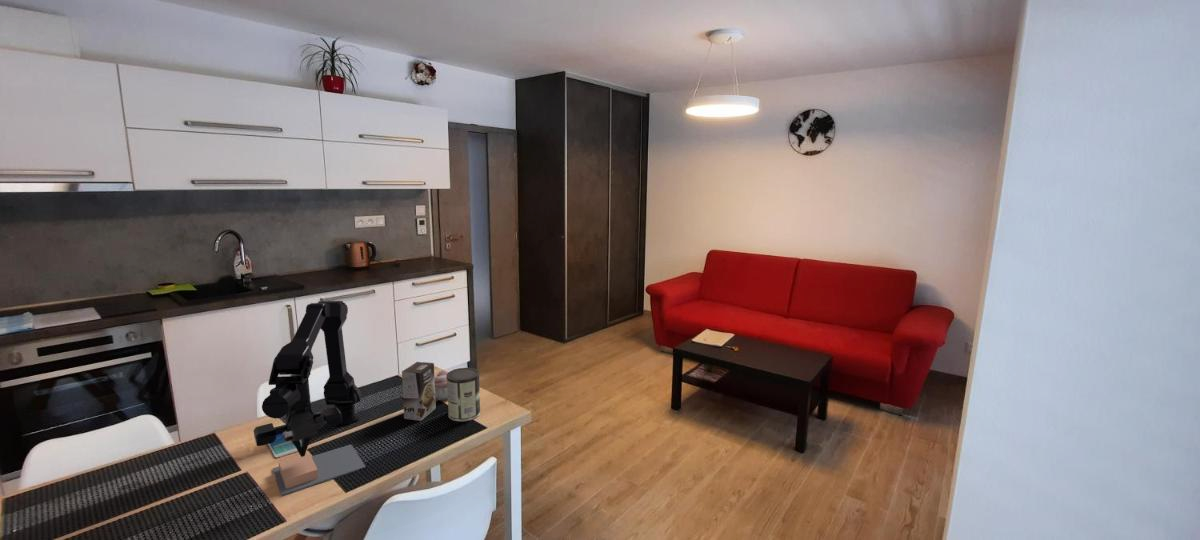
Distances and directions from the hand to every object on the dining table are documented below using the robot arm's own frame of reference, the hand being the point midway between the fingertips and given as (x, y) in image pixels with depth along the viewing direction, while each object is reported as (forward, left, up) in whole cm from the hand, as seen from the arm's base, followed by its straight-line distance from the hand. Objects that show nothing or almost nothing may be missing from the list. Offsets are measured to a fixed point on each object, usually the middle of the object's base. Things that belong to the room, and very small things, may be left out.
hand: (302, 456), depth 127 cm
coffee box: (-14, +36, -5) cm, 39 cm away
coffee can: (-5, +47, -5) cm, 47 cm away
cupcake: (-21, +47, -5) cm, 52 cm away
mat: (0, +4, -5) cm, 6 cm away
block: (0, +2, -3) cm, 4 cm away
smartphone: (-20, -1, -6) cm, 21 cm away
